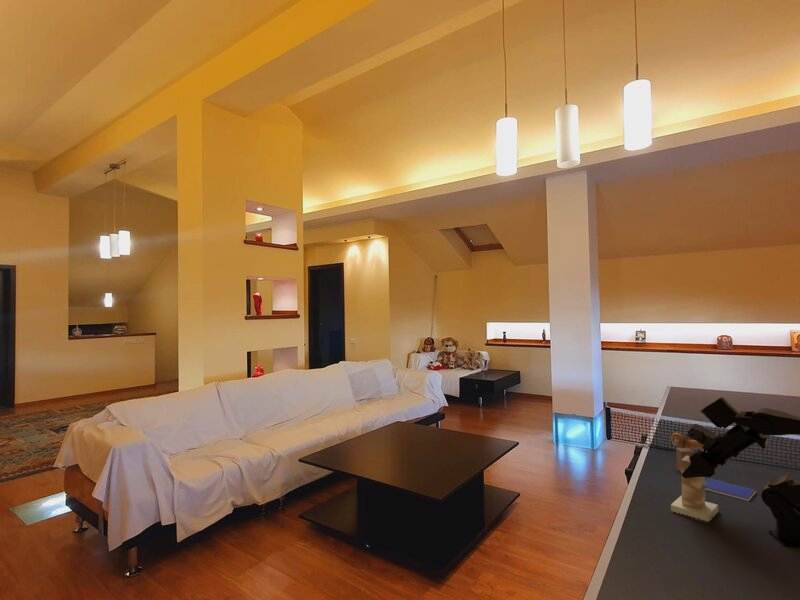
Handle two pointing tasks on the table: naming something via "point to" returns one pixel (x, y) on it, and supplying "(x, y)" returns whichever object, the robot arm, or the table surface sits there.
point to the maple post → (692, 488)
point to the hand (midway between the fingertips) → (688, 471)
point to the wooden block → (682, 455)
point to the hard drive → (729, 489)
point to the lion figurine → (685, 442)
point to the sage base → (695, 510)
